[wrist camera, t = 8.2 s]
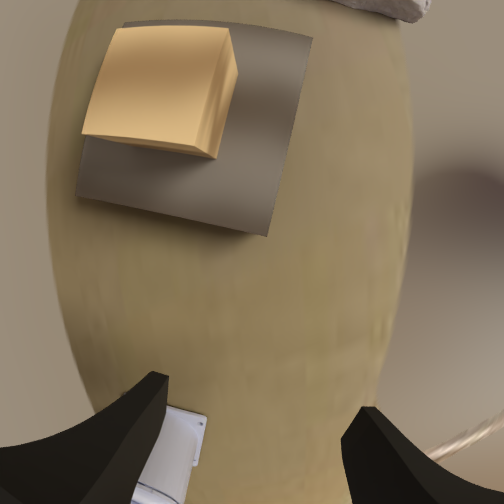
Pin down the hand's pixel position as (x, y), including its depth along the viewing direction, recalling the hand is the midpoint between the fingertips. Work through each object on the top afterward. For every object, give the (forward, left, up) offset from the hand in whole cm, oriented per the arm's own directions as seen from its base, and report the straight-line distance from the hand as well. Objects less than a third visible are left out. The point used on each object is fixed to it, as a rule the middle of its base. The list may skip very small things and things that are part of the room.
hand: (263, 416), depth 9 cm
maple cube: (+11, +7, -7) cm, 15 cm away
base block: (+11, +7, -10) cm, 17 cm away
